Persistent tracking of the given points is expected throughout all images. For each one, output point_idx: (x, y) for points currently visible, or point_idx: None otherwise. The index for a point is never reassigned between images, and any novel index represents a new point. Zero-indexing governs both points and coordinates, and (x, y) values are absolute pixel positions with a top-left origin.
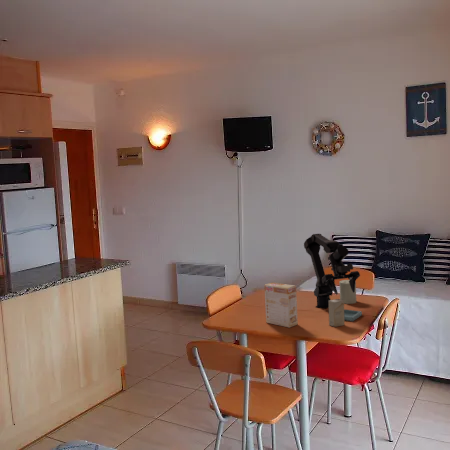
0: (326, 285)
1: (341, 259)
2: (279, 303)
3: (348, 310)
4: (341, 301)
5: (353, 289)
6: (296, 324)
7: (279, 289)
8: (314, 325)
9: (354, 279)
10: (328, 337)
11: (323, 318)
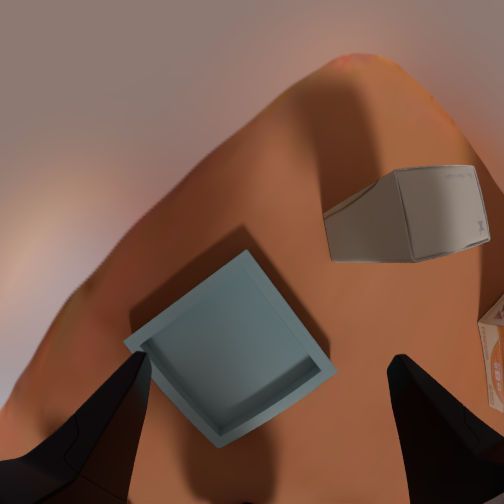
0: None
1: None
2: None
3: (185, 401)
4: (415, 168)
5: (137, 374)
6: (483, 316)
7: None
8: (441, 280)
9: (25, 478)
10: (437, 114)
11: (357, 376)
